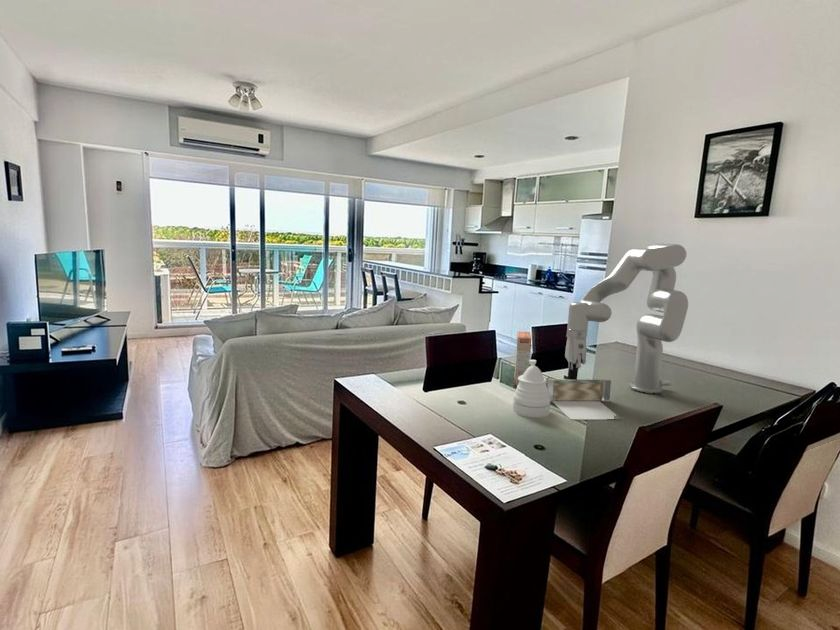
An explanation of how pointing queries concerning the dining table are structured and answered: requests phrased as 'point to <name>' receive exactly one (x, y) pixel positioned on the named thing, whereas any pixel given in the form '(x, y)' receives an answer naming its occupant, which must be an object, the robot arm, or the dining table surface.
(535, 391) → the honey pot
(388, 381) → the dining table surface
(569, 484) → the dining table surface
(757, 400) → the dining table surface
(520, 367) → the cracker box
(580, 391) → the gate
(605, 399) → the gate frame
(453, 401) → the dining table surface
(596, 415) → the mat
